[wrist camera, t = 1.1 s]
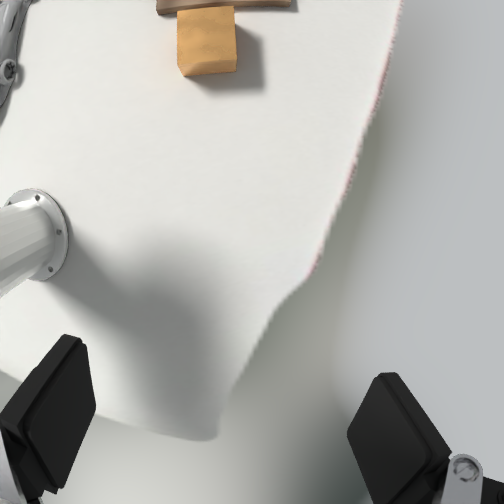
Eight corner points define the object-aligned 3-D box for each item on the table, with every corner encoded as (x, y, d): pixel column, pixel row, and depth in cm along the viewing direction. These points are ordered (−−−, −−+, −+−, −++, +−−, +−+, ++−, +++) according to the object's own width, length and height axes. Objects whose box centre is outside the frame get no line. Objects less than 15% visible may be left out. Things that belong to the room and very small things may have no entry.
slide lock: (183, 76, 30) (177, 64, 26) (182, 27, 28) (177, 11, 24) (235, 71, 30) (237, 59, 26) (232, 22, 28) (233, 5, 24)
